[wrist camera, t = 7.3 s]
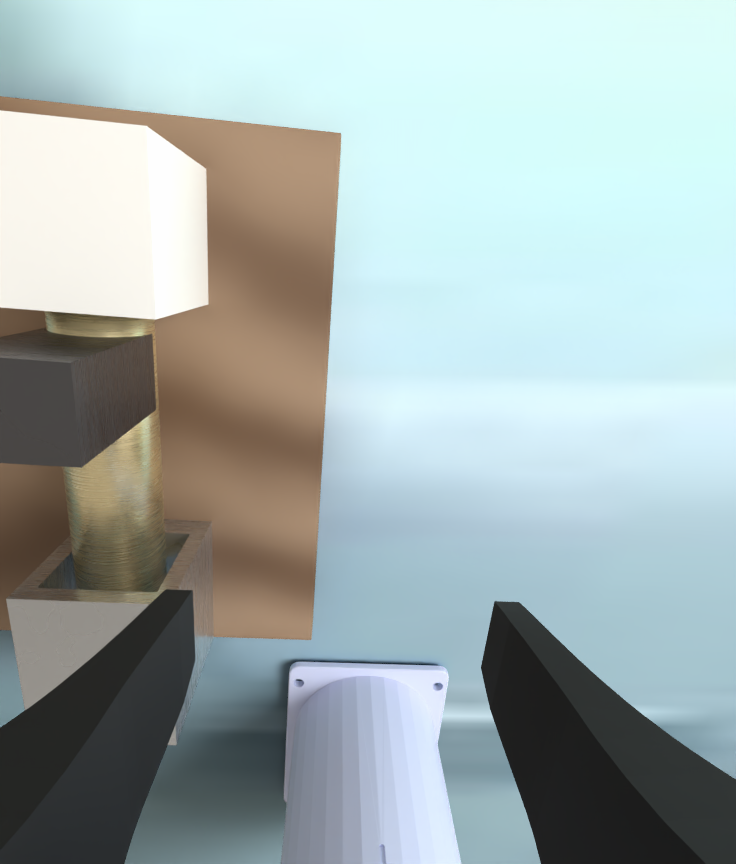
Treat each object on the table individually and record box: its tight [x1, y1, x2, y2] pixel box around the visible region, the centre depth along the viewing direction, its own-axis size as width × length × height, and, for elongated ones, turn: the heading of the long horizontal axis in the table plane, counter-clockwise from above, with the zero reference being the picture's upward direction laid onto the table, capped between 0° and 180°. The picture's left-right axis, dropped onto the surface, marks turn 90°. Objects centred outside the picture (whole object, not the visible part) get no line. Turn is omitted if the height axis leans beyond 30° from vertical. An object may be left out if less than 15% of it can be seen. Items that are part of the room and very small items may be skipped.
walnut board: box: [0, 96, 341, 640], centre depth 20 cm, size 21×14×1 cm, turn 175°
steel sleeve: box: [6, 519, 214, 745], centre depth 19 cm, size 6×5×6 cm
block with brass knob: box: [0, 311, 167, 592], centre depth 15 cm, size 14×3×7 cm, turn 175°
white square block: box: [0, 110, 208, 320], centre depth 15 cm, size 4×5×6 cm
